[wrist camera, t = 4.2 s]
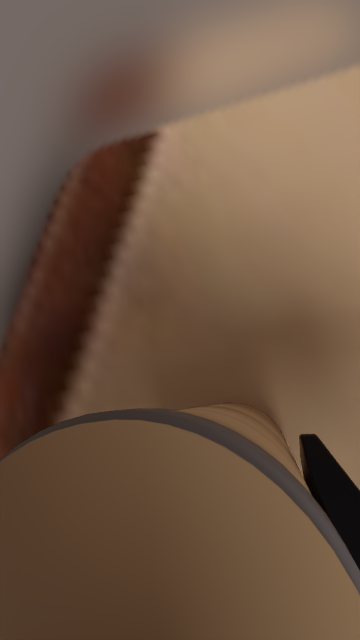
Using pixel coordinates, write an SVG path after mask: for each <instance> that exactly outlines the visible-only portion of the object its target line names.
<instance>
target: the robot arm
mask: <svg viewBox="0 0 360 640" xmlns="http://www.w3.org/2000/svg"><path fill="white" fill-rule="evenodd" d="M299 441H300V457H301V464H302V470H303V476H304V480H305V482H306V485H307V487H308V489H309V491H310V493H311V495H312V497H313V498H314V499H315V500H316V502H317V503H318V504H319V505H320V507H321V508H322V509H323V511H324V512H325V513H326V514H327V516H328V518H329V519H330V521H331V522H332V524H333V526H334V527H335V529H336V530H337V532H338V534H339V535H340V537H341V539H342V540H343V542H344V543H345V545H346V547H347V549H348V550H349V552H350V554H351V556H352V558H353V560H354V561H355V563H356V565H357V567H358V569H359V571H360V490H359V489H358V488H357V486H356V485H355V484H354V483H353V481H352V480H351V479H350V477H349V476H348V475H347V474H346V472H345V471H344V470H343V468H342V467H341V466H340V465H339V463H338V462H337V461H336V459H335V458H334V457H333V456H332V454H331V453H330V452H329V450H328V449H327V448H326V447H325V445H324V444H323V443H322V441H321V440H320V439H319V438H318V436H317V435H315V434H301V435H300V437H299Z"/></svg>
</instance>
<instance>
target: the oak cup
mask: <svg viewBox="0 0 360 640" xmlns="http://www.w3.org/2000/svg"><path fill="white" fill-rule="evenodd" d="M0 640H360V571H359V569H358V567H357V565H356V563H355V561H354V560H353V558H352V556H351V554H350V552H349V550H348V549H347V547H346V545H345V543H344V542H343V540H342V539H341V537H340V535H339V534H338V532H337V530H336V529H335V527H334V526H333V524H332V522H331V521H330V519H329V518H328V516H327V514H326V513H325V512H324V511H323V509H322V508H321V507H320V505H319V504H318V503H317V502H316V500H315V499H314V498H313V497H312V495H311V493H310V491H309V489H308V487H307V485H306V482H305V480H304V478H303V476H302V474H301V472H300V470H299V468H298V466H297V464H296V462H295V460H294V457H293V455H292V453H291V451H290V449H289V447H288V445H287V443H286V441H285V439H284V437H283V435H282V433H281V431H280V430H279V428H278V427H277V426H276V424H275V423H274V422H273V421H272V420H271V419H270V418H269V417H268V416H266V415H265V414H264V413H263V412H261V411H259V410H257V409H256V408H253V407H251V406H248V405H245V404H240V403H223V404H216V405H209V406H202V407H195V408H188V409H181V410H174V411H173V410H167V409H140V408H139V409H127V410H116V411H108V412H100V413H93V414H87V415H83V416H80V417H76V418H73V419H69V420H66V421H62V422H60V423H58V424H56V425H53V426H51V427H49V428H47V429H44V430H42V431H40V432H38V433H36V434H35V435H33V436H32V437H30V438H28V439H27V440H25V441H24V442H22V443H20V444H19V445H17V446H16V447H15V448H13V449H12V450H11V451H10V452H9V453H7V454H6V455H5V456H4V457H3V458H1V459H0Z"/></svg>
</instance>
